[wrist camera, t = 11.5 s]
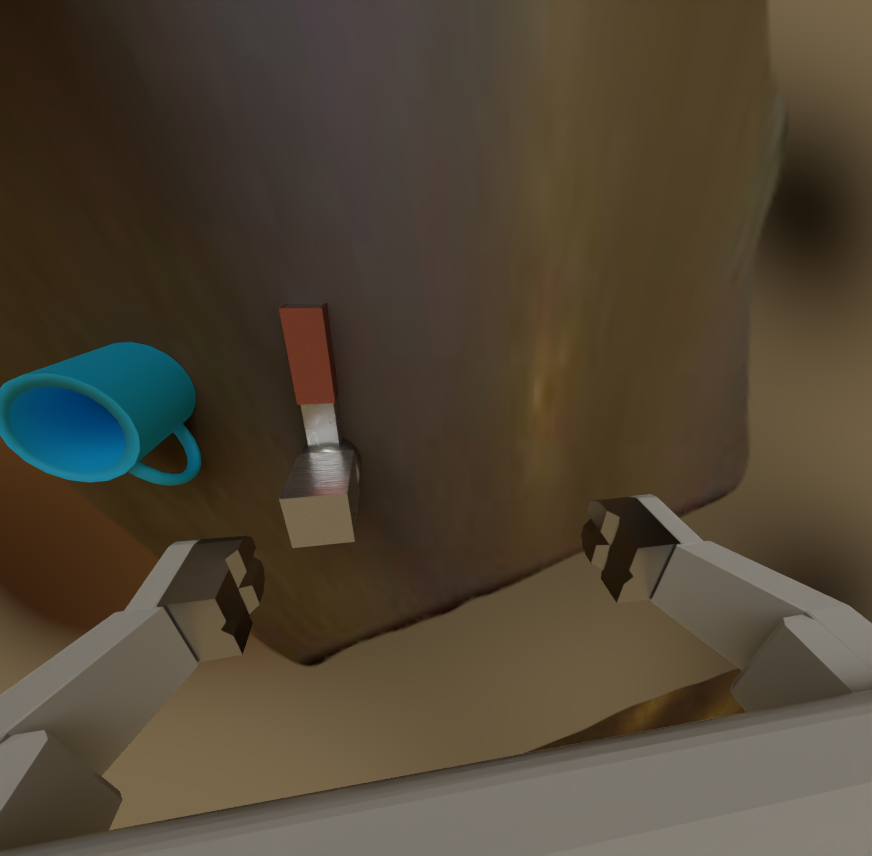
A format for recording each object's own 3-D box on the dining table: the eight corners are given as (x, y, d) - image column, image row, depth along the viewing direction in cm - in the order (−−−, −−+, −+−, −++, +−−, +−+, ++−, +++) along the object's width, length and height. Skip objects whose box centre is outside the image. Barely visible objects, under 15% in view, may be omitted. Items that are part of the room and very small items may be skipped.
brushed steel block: (298, 454, 32) (279, 499, 26) (353, 450, 32) (347, 493, 27) (307, 497, 34) (292, 548, 28) (359, 493, 35) (354, 541, 29)
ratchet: (269, 303, 29) (240, 317, 23) (343, 303, 29) (333, 316, 24) (306, 487, 37) (291, 530, 31) (363, 482, 38) (359, 524, 32)
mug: (64, 374, 29) (-42, 415, 22) (138, 322, 28) (53, 348, 21) (182, 473, 34) (129, 532, 27) (248, 432, 33) (210, 483, 26)
